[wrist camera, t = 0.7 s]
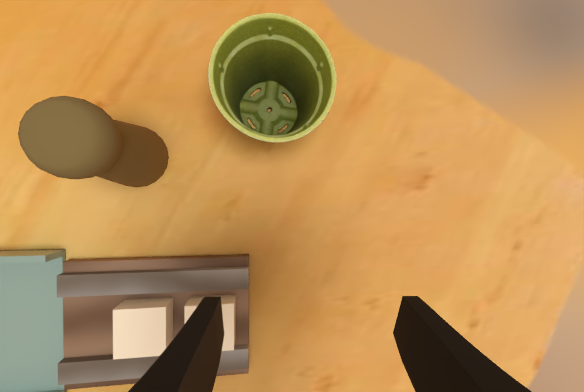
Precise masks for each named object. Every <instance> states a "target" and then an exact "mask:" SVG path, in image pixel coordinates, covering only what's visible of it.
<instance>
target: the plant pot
mask: <svg viewBox="0 0 584 392" xmlns="http://www.w3.org/2000/svg"><path fill="white" fill-rule="evenodd" d="M208 80H209V87H210V91H211V94H212V97H213V100H214V102H215V104H216V106H217V108H218V109H219V111H220V112H221V114H222V115H223V116H224V117H225V119H226V120H227V121H228V122H229V123H230V124H231V125H233V126H234V127H235V128H236V129H238V130H239V131H240V132H242V133H244V134H245V135H247V136H249V137H251V138H254V139H257V140H260V141H264V142H270V143H283V142H289V141H293V140H296V139H299V138H301V137H303V136H305V135H307V134H308V133H310V132H311V131H313V130H314V129H315V128H316V127H317V126H318V125H319V124H320V123H321V122H322V121H323V120H324V118H325V117H326V115H327V114H328V112H329V110H330V108H331V106H332V103H333V100H334V97H335V92H336V70H335V66H334V62H333V59H332V56H331V54H330V52H329V50H328V48H327V46H326V45H325V43H324V42H323V41H322V40H321V38H320V37H319V36H318V35H317V34H316V33H315V32H314V31H313V30H312V29H311V28H309V27H308V26H306V25H305V24H303V23H302V22H300V21H298V20H297V19H294V18H292V17H289V16H286V15H282V14H276V13H265V14H257V15H252V16H248V17H246V18H243V19H241V20H240V21H238V22H236V23H235V24H234V25H232V26H231V27H229V28H228V29H227V30H226V31H225V32H224V33H223V35H222V36H221V37H220V38H219V40H218V41H217V43H216V45H215V47H214V48H213V51H212V55H211V58H210V62H209V69H208ZM258 88H260V89H261V91H260V92H258V93H256V94H255V95H254V96H253V97H250V94H251V93H252V92H254V90H256V89H258ZM282 93H285V94H286V95H287V96H288V97H289V98H290V100H291V103H288V102H287V100H286V98H285V97H284V96H283V94H282ZM267 108H271V109H272V111H271V112H268V111H267ZM248 118H250V120H251V122H252V123H253V125H254V126H256V129H253V128H252V127H251V126H250V124H249V123H248V121H247V119H248ZM286 124H288V127H287V128H286V129H285V130H284V131H283V132H281V133H279V132H278V130H280V129H281V128H283V127H284V126H285V125H286Z"/></svg>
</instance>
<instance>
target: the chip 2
mask: <svg viewBox="0 0 584 392" xmlns="http://www.w3.org/2000/svg"><path fill="white" fill-rule="evenodd" d="M204 297H221V304H222V315H223V325H224V340H223V346H222V351H230V350H234V345H235V303H236V294H234V295H213V296H192V297H190V298H189V299H188V301H187V303H186V304H185V306H184V324H185V323H186V322H187V320H188V319H189V317H190V316H191V315H192V313H193V312H194V310H195V309H196V307H197V306H198V305H199V303H200V302H201V300H202V299H203V298H204Z"/></svg>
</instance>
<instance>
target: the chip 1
mask: <svg viewBox="0 0 584 392" xmlns="http://www.w3.org/2000/svg"><path fill="white" fill-rule="evenodd" d="M172 340H173V297H172V298H151V299H130V300H124V301H123V302H121V303H120V304H119V305H118V306H117V307H116V308H114V309H113V359H126V358H139V357H152V356H160V355H161V354H162V353H163V351H164V350H165V349H166V348H167V346H168V345H169V344H170V343H171V341H172Z"/></svg>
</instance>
